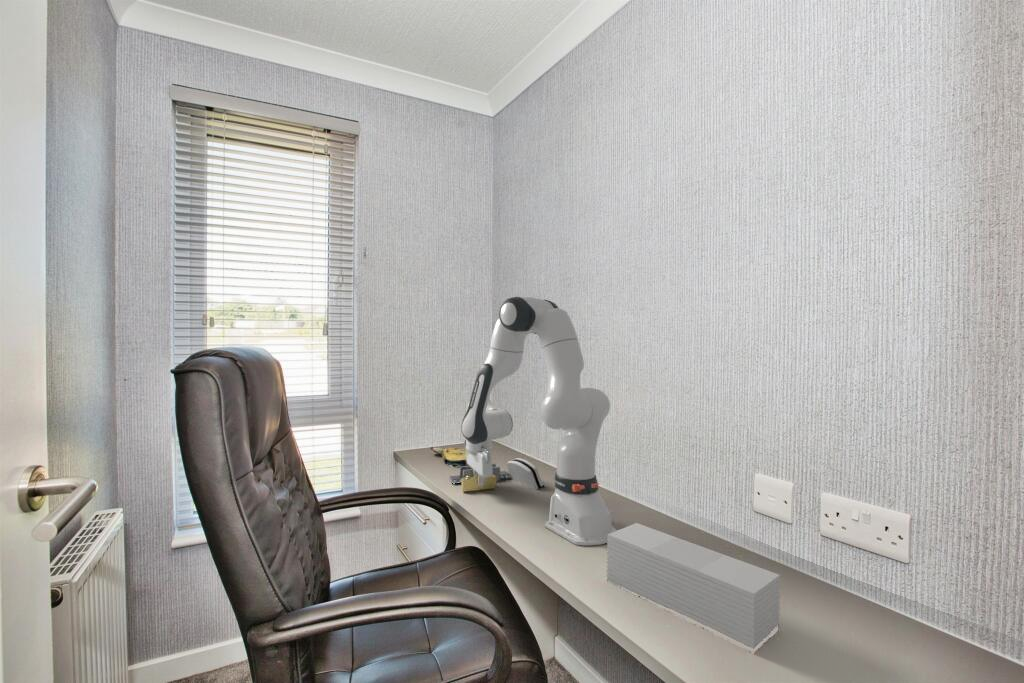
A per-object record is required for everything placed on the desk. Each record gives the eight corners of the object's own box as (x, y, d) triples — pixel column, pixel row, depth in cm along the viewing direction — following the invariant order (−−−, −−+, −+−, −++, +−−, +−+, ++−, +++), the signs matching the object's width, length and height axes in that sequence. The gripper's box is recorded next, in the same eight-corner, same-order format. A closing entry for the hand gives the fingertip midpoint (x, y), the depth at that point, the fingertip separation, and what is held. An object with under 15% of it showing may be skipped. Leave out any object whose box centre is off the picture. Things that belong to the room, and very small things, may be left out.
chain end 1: (476, 483, 179) (476, 469, 179) (452, 485, 176) (453, 471, 176) (472, 478, 185) (472, 465, 185) (449, 480, 182) (449, 467, 182)
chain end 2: (509, 479, 184) (510, 466, 184) (487, 482, 181) (487, 468, 181) (504, 475, 190) (504, 462, 190) (482, 477, 186) (482, 464, 186)
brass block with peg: (496, 487, 172) (496, 474, 172) (463, 491, 168) (463, 477, 168) (494, 485, 174) (494, 472, 174) (461, 489, 170) (461, 475, 170)
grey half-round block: (546, 487, 175) (539, 462, 173) (536, 493, 173) (529, 468, 171) (520, 475, 189) (513, 452, 187) (510, 481, 187) (503, 458, 185)
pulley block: (446, 438, 227) (487, 450, 205) (448, 450, 228) (489, 463, 205) (420, 447, 218) (460, 460, 195) (422, 459, 218) (462, 474, 196)
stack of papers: (606, 582, 109) (607, 534, 109) (635, 568, 116) (636, 522, 115) (753, 655, 84) (754, 593, 84) (779, 632, 91) (780, 574, 91)
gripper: (497, 449, 162) (497, 491, 162) (479, 438, 181) (479, 475, 181) (478, 451, 160) (478, 493, 160) (462, 439, 179) (462, 476, 179)
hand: (478, 483), depth 171 cm, fingers closed on brass block with peg, 2 cm apart
